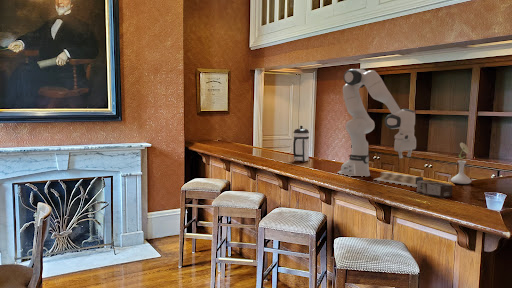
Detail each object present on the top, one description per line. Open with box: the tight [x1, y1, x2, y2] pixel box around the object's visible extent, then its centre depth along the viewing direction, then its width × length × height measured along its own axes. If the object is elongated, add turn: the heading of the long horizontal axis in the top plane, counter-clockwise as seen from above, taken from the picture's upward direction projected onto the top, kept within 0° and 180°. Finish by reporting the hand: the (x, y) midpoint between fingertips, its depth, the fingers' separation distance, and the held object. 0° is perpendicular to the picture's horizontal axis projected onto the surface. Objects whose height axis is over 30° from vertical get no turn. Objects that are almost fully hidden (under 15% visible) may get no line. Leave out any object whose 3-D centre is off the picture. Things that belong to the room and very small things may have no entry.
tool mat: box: [373, 177, 417, 188], centre depth 255 cm, size 30×12×1 cm, turn 41°
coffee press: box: [292, 125, 311, 164], centre depth 340 cm, size 17×16×30 cm
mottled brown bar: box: [379, 171, 424, 184], centre depth 254 cm, size 26×4×4 cm, turn 41°
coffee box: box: [416, 179, 453, 199], centre depth 223 cm, size 9×6×16 cm
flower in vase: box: [450, 142, 472, 185], centre depth 250 cm, size 13×11×25 cm
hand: (404, 157), depth 255 cm, fingers open, 8 cm apart
